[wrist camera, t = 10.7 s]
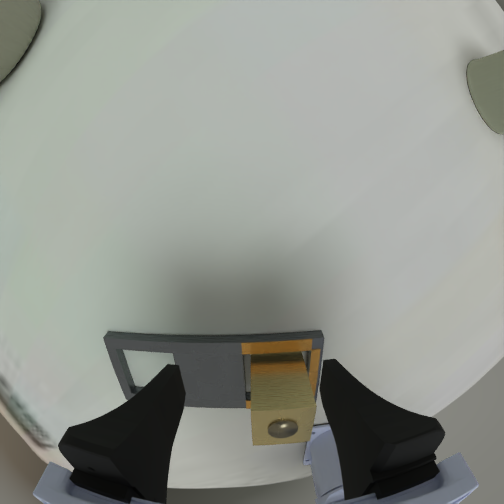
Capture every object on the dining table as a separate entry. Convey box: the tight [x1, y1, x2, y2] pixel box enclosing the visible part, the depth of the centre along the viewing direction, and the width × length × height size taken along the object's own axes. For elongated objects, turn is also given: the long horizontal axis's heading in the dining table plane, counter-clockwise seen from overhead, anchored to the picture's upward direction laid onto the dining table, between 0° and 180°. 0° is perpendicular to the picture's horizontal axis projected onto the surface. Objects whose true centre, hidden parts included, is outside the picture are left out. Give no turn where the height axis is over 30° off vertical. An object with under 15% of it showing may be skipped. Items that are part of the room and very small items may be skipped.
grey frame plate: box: [103, 330, 324, 409], centre depth 23 cm, size 8×20×1 cm, turn 92°
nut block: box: [251, 351, 317, 445], centre depth 20 cm, size 4×4×8 cm
